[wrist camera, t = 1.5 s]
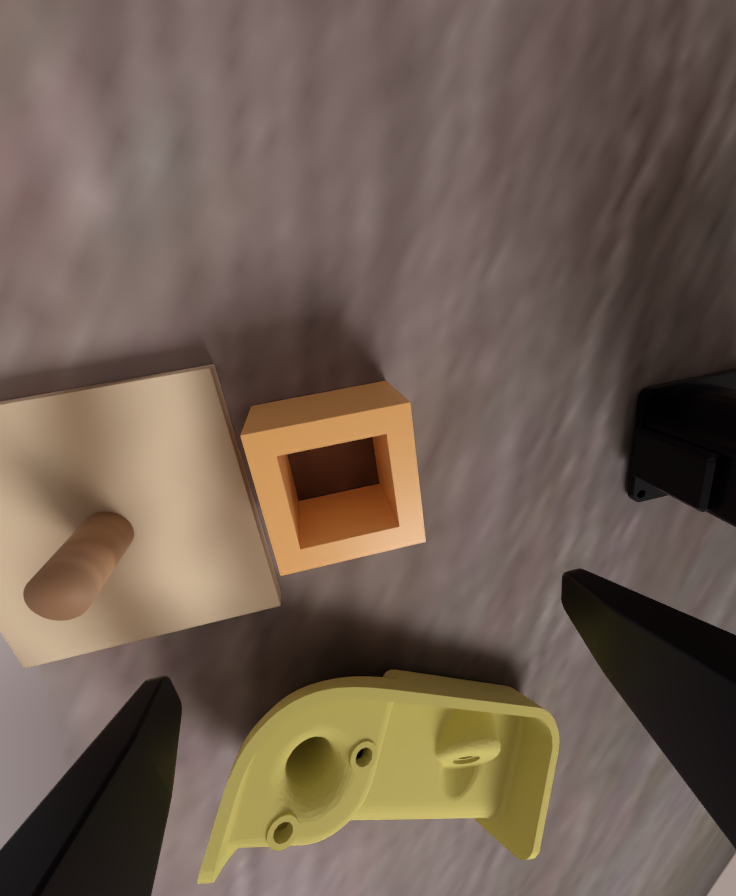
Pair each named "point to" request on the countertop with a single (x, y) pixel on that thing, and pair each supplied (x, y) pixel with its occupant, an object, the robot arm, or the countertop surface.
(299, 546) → the orange nut
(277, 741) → the plastic component
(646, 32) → the countertop surface
